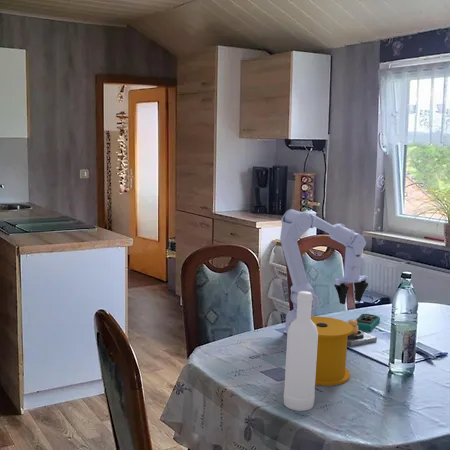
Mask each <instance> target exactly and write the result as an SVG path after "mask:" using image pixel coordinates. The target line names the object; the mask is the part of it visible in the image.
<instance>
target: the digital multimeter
mask: <svg viewBox="0 0 450 450" xmlns="http://www.w3.org/2000/svg"><path fill="white" fill-rule="evenodd" d="M355 320H357V325H358V330H361V331H363V332H372V331H373V329H374V328H375V327H376V326H377V325H378V324H379V323H380V321H381V317H380V316H379V315H376V314H375V315H374V314H370V313H361V314H360V315H359V316H358V318H356V319H355Z"/></svg>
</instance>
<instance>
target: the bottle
mask: <svg viewBox="0 0 450 450" xmlns="http://www.w3.org/2000/svg"><path fill="white" fill-rule="evenodd" d="M297 300H298V301H297V318H296V319H295V320H294V321H293V322H292V323H291V324H290V327H289V329H288V332H287V334H286V353H285V369H284V371H285V372H284V373H285V374H284V388H283V389H284V390H283V404H284V406H285V407H286V408H287V409H290V410H293V411H297V412H303V411H305V412H306V411H310V410H311V409H313V408H314V405H315V395H316V394H315V388H316V385H315V376H316V360H317V344H318V331H317V327H316V325H315V324H314V323H313V322H312V320H311V307H312V300H313V298H312V293H311V292H307V291H300V292H299V293H298V296H297Z"/></svg>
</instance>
